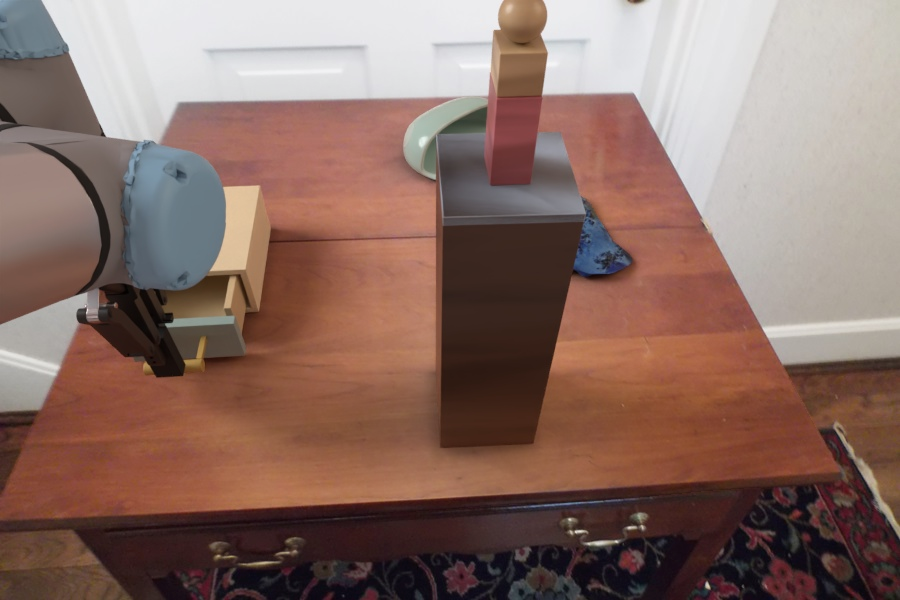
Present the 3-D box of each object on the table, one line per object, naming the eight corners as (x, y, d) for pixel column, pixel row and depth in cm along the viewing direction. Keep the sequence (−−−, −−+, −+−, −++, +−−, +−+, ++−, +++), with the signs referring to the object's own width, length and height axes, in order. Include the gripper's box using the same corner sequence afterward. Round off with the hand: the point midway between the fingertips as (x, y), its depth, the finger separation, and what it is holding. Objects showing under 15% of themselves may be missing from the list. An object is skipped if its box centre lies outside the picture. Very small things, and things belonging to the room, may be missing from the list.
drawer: (240, 388, 72) (227, 356, 67) (125, 395, 71) (105, 363, 66) (258, 266, 84) (249, 233, 80) (161, 271, 83) (146, 238, 79)
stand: (533, 443, 69) (586, 213, 45) (440, 448, 68) (442, 217, 44) (521, 367, 75) (560, 131, 52) (435, 370, 75) (435, 134, 51)
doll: (530, 184, 47) (555, 4, 37) (489, 185, 47) (504, 5, 37) (522, 155, 49) (544, -21, 40) (484, 157, 49) (496, -20, 39)
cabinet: (259, 312, 80) (245, 269, 75) (146, 318, 79) (124, 275, 74) (271, 228, 91) (260, 185, 85) (171, 232, 90) (154, 189, 84)
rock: (575, 192, 97) (577, 182, 95) (644, 266, 87) (648, 256, 85) (489, 220, 93) (490, 210, 91) (551, 302, 83) (553, 292, 81)
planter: (466, 69, 107) (540, 108, 99) (464, 108, 112) (535, 148, 104) (377, 111, 98) (452, 158, 90) (380, 151, 103) (451, 199, 95)
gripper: (53, 147, 54) (148, 324, 72) (-6, 258, 45) (118, 428, 63) (145, 144, 54) (217, 321, 72) (104, 253, 46) (197, 423, 64)
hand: (171, 371), depth 68 cm, fingers closed
